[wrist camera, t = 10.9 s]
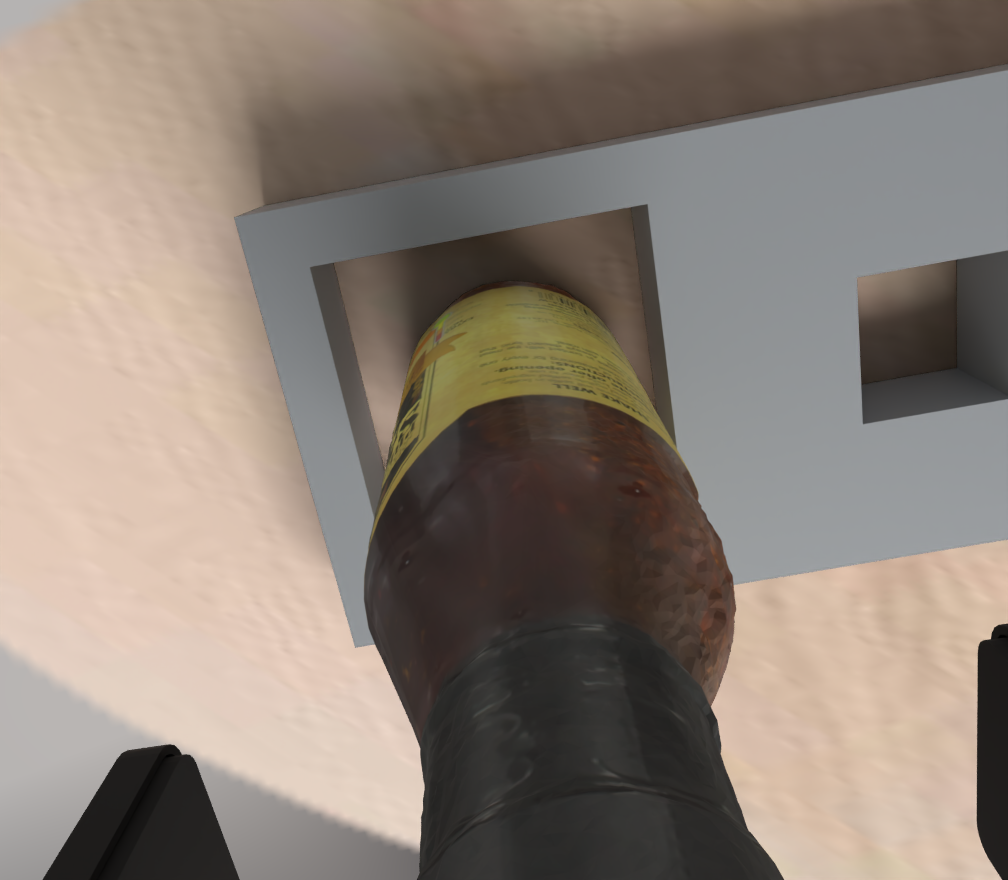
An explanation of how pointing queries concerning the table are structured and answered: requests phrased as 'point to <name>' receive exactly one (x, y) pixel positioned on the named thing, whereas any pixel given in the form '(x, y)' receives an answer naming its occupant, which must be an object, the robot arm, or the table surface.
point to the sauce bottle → (552, 608)
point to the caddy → (718, 316)
